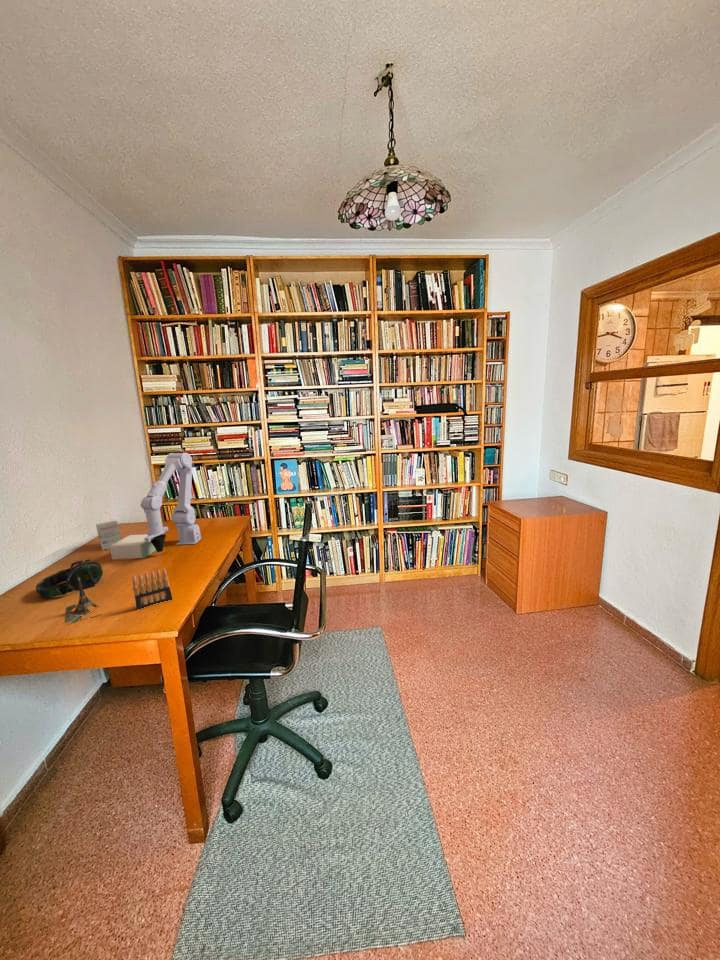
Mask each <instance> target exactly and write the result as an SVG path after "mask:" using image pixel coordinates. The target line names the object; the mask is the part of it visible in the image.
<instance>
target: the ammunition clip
mask: <svg viewBox="0 0 720 960" xmlns="http://www.w3.org/2000/svg"><path fill="white" fill-rule="evenodd" d="M150 578H151V579H150ZM131 580H132V589H133V595H134V600H135V606H136V607H135V608H136V611H139V610H138V609H140V610H142V609H141V608H143V609H145V608H144V607H147V606H150V605H153V604H156V603H160V602H164V601H167V602H169V601H168V600H171V601H173V600H172V599H173V596H172V595H173V594H172V591H171V586H170V580H169V577H168V572H167V570H166V568H165V567H163V568H162V574H161V571H160V569H159V568H157V570H156V575H155V572H154V571H153V570H151V572H150V576H149V574H148V572H147V571H145V573H144V577H143V575H142V573H138V579H137V577H136V575H135V574H133V575H132V579H131ZM138 583H139V584H138ZM164 603H165V602H164ZM150 607H151V606H150ZM147 608H148V607H147Z"/></svg>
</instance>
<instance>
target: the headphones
mask: <svg viewBox="0 0 720 960" xmlns="http://www.w3.org/2000/svg"><path fill="white" fill-rule="evenodd" d="M103 574H104V572H103V568H102V565H101V564H100V563H99V562H98V561H97V560H90V559H86V560H85V561H84V560H83V559H81V560H78V561H77V560H76V561H75V562H72V563H71V565H70V567H69V568H67V569H65V568H63V569H62V570H61V569H60V570H59V571H56V572H55V573H52V574H50V575H49V576H46V577H45V578H43V579H42V580H40V581H39V582H38V583H37V584H36V585H35V590H36V592H37V593H38V594H39V595H38V596H39V597H40V598H44V599H49V598H54V597H55V598H56V597H61V596H64V595H67V594H68V593H70V592H79V590H77V589H79V584H78V580H77V578H78V577H79V578H80V581H81V584H82V587H83V590H84V591H85V589H88V588H92V587H93V585H97V584H98V583H99V582H100V580H101V579H102V577H103ZM91 586H92V587H91ZM74 588H75V589H76V590H74Z"/></svg>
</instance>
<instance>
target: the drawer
mask: <svg viewBox="0 0 720 960" xmlns="http://www.w3.org/2000/svg"><path fill="white" fill-rule="evenodd" d="M140 548H141V554H142V559H145V558H147V557H148V556H150V555H151V554H153V553H154V552H157V551H156V549H155V547H154V545H153V544H152V543H151V542H144V543H142V544H141V545H140ZM149 554H150V555H149ZM146 556H147V557H146Z"/></svg>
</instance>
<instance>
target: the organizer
mask: <svg viewBox="0 0 720 960" xmlns="http://www.w3.org/2000/svg"><path fill="white" fill-rule="evenodd" d="M146 536H147V533H145V534H130V535H128V536H126V537H123V538H121V540H120V541H118V542H116V543H114V544H112V545H111V546H110V549H109V550H110V551H109V552H110V554H111V559H112V560H117V559H116V558H142V554H141V548H140V545H141V544H142V543H144V542H145V539H144V538H145V537H146ZM142 559H143V558H142Z"/></svg>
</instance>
